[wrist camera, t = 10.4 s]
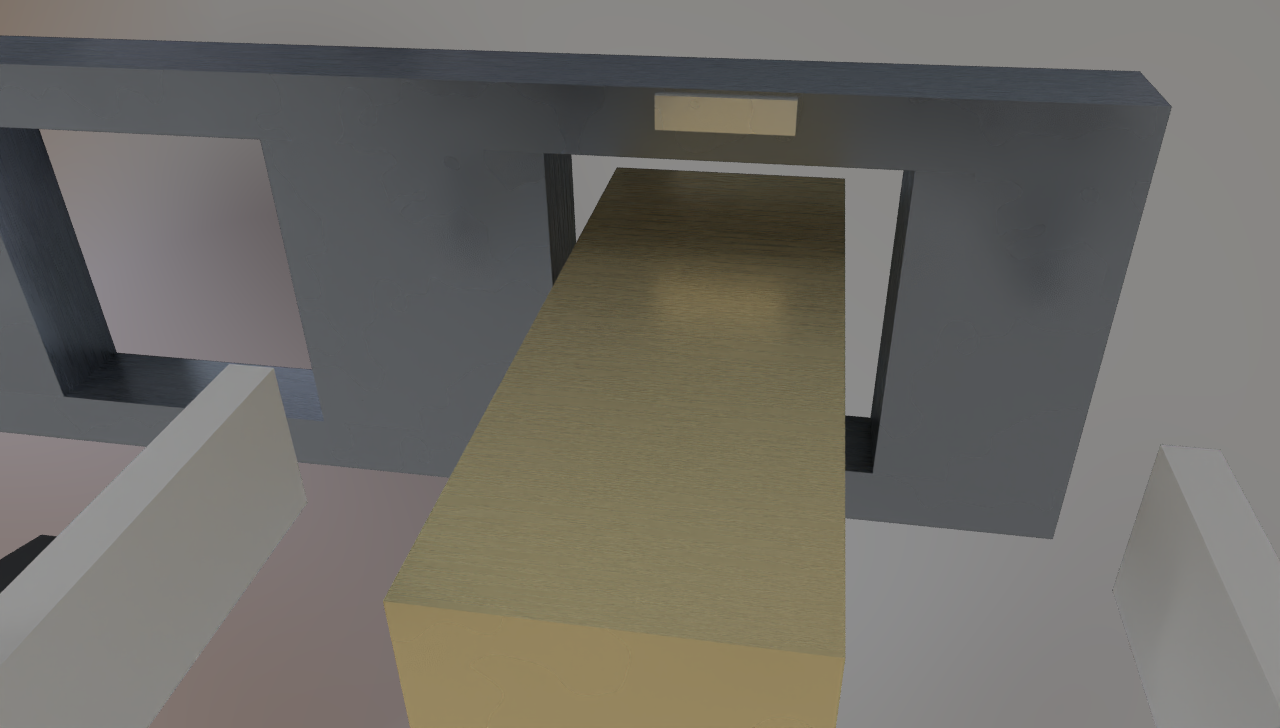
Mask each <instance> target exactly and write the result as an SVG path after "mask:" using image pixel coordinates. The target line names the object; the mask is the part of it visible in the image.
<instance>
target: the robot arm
mask: <svg viewBox="0 0 1280 728" xmlns="http://www.w3.org/2000/svg"><path fill="white" fill-rule="evenodd" d="M307 503H308V502H307V498H306V494H305V491H304V486H303V483H302V478H301V474H300V470H299V466H298V462H297V459H296V455H295V451H294V447H293V443H292V439H291V435H290V431H289V427H288V423H287V419H286V415H285V411H284V407H283V403H282V399H281V395H280V391H279V387H278V383H277V379H276V375H275V371H274V368H271V367H259V366H248V365H236V364H229V365H228V366H227V367H226V368H225V369H224V370H223V371H222V372H221V373H220V374H219V375H218V376H217V377H216V378H215V379H214V380H213V381H212V382H211V383H210V384H209V385H208V386H207V387H206V388H205V389H204V390H203V391H202V392H201V393H200V394H199V395H198V396H197V397H196V398H195V399H194V400H193V401H192V402H191V403H190V404H189V405H188V406H187V407H186V408H185V409H184V410H183V411H182V412H181V413H180V414H179V415H178V416H177V417H176V418H175V419H174V420H173V421H172V422H171V423H170V424H169V425H168V426H167V427H166V428H165V429H164V430H163V431H162V432H161V433H160V434H159V435H158V436H157V437H156V438H155V439H154V440H153V441H152V442H151V443H150V444H149V445H148V446H147V447H146V448H145V449H144V450H143V451H142V452H141V453H140V454H139V455H138V456H137V457H136V458H135V459H134V460H133V461H132V462H131V463H130V464H129V465H128V466H127V467H126V468H125V469H124V470H123V471H122V472H121V473H120V474H119V475H118V476H117V477H116V478H115V479H114V480H113V481H112V482H111V483H110V484H109V485H108V486H107V487H106V488H105V489H104V490H103V491H102V492H101V493H100V494H99V495H98V496H97V497H96V498H95V499H94V500H93V501H92V502H91V503H90V504H89V505H88V506H87V507H86V508H85V509H84V510H83V511H82V512H81V513H80V514H79V515H78V516H77V517H76V518H75V519H74V520H73V521H72V522H71V523H70V524H69V525H68V526H67V527H66V528H65V529H64V530H63V531H62V532H61V533H60V534H59V535H58V536H47V535H40V536H39V537H37V538H35V539H34V540H32V541H30V542H29V543H27V544H25V545H24V546H22V547H20V548H19V549H17V550H15V551H14V552H12V553H10V554H9V555H7V556H5V557H4V558H2V559H1V560H0V728H148V727H149V726H150V724H151V723H152V721H153V720H154V719H155V717H156V716H157V714H158V713H159V711H160V710H161V708H162V707H163V706H164V704H165V703H166V701H167V700H168V699H169V697H170V696H171V695H172V693H173V691H174V690H175V689H176V687H177V686H178V685H179V683H180V682H181V680H182V679H183V677H184V676H185V675H186V673H187V672H188V671H189V669H190V668H191V666H192V665H193V664H194V662H195V661H196V659H197V658H198V657H199V655H200V654H201V652H202V651H203V649H204V648H205V647H206V645H207V644H208V642H209V641H210V640H211V638H212V637H213V635H214V633H215V632H216V631H217V630H218V628H219V627H220V625H221V624H222V623H223V621H224V620H225V618H226V617H227V615H228V614H229V613H230V611H231V610H232V609H233V607H234V606H235V604H236V603H237V602H238V600H239V599H240V597H241V596H242V595H243V593H244V592H245V590H246V589H247V587H248V586H249V585H250V583H251V581H252V580H253V579H254V577H255V576H256V575H257V573H258V572H259V570H260V569H261V567H262V566H263V565H264V563H265V562H266V561H267V559H268V558H269V556H270V555H271V553H272V552H273V551H274V549H275V548H276V547H277V545H278V544H279V542H280V541H281V540H282V538H283V537H284V535H285V534H286V533H287V531H288V530H289V528H290V527H291V525H292V524H293V523H294V521H295V520H296V518H297V517H298V516H299V514H300V512H301V511H302V510H303V509H304V507H305V506H306V504H307ZM1112 591H1113V594H1114V597H1115V600H1116V603H1117V606H1118V610H1119V612H1120V616H1121V619H1122V622H1123V625H1124V628H1125V631H1126V635H1127V638H1128V641H1129V644H1130V647H1131V650H1132V653H1133V657H1134V660H1135V663H1136V666H1137V669H1138V673H1139V676H1140V679H1141V682H1142V685H1143V688H1144V691H1145V695H1146V698H1147V701H1148V704H1149V707H1150V710H1151V714H1152V717H1153V720H1154V723H1155V726H1156V728H1280V560H1279V558H1278V556H1277V554H1276V552H1275V550H1274V549H1273V547H1272V545H1271V543H1270V541H1269V539H1268V537H1267V535H1266V534H1265V532H1264V530H1263V528H1262V526H1261V524H1260V523H1259V520H1258V519H1257V517H1256V515H1255V513H1254V511H1253V509H1252V508H1251V506H1250V504H1249V502H1248V500H1247V498H1246V496H1245V494H1244V492H1243V491H1242V489H1241V487H1240V485H1239V483H1238V481H1237V480H1236V478H1235V476H1234V474H1233V472H1232V470H1231V468H1230V466H1229V465H1228V463H1227V461H1226V459H1225V457H1224V455H1223V453H1222V451H1221V450H1218V449H1207V448H1196V447H1184V446H1173V445H1172V446H1171V445H1160V448H1159V451H1158V454H1157V457H1156V460H1155V463H1154V466H1153V469H1152V472H1151V475H1150V478H1149V481H1148V484H1147V488H1146V490H1145V493H1144V496H1143V499H1142V503H1141V506H1140V509H1139V511H1138V514H1137V517H1136V520H1135V523H1134V526H1133V530H1132V533H1131V536H1130V539H1129V542H1128V545H1127V548H1126V551H1125V554H1124V557H1123V560H1122V563H1121V566H1120V569H1119V572H1118V575H1117V578H1116V581H1115V584H1114V587H1113V590H1112Z"/></svg>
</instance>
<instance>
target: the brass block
mask: <svg viewBox="0 0 1280 728" xmlns="http://www.w3.org/2000/svg"><path fill="white" fill-rule="evenodd" d="M383 603H384V607H385V612H386V617H387V622H388V626H389V631H390V636H391V641H392V645H393V650H394V654H395V659H396V664H397V669H398V673H399V678H400V683H401V688H402V692H403V697H404V701H405V706H406V711H407V716H408V720H409V725H410V728H836V721H837V714H838V707H839V700H840V693H841V686H842V678H843V671H844V664H845V179H840V178H838V179H837V178H820V177H799V176H779V175H759V174H739V173H718V172H697V171H678V170H658V169H637V168H616V170H615V172H614V174H613V176H612V178H611V179H610V181H609V183H608V185H607V187H606V189H605V191H604V192H603V194H602V196H601V198H600V200H599V202H598V203H597V205H596V207H595V209H594V211H593V213H592V215H591V216H590V218H589V220H588V222H587V224H586V226H585V228H584V229H583V231H582V233H581V235H580V237H579V239H578V241H577V242H576V244H575V246H574V248H573V250H572V252H571V254H570V255H569V257H568V259H567V261H566V263H565V265H564V267H563V268H562V270H561V272H560V274H559V276H558V278H557V280H556V281H555V283H554V285H553V287H552V289H551V291H550V292H549V294H548V296H547V298H546V300H545V302H544V304H543V305H542V307H541V309H540V311H539V313H538V315H537V317H536V318H535V320H534V322H533V324H532V326H531V328H530V330H529V331H528V333H527V335H526V337H525V339H524V341H523V343H522V344H521V346H520V348H519V350H518V352H517V354H516V356H515V357H514V359H513V361H512V363H511V365H510V367H509V369H508V370H507V372H506V374H505V376H504V378H503V380H502V382H501V383H500V385H499V387H498V389H497V391H496V393H495V394H494V396H493V398H492V400H491V402H490V404H489V406H488V407H487V409H486V411H485V413H484V415H483V417H482V419H481V420H480V422H479V424H478V426H477V428H476V430H475V432H474V433H473V435H472V437H471V439H470V441H469V443H468V445H467V446H466V448H465V450H464V452H463V454H462V456H461V458H460V459H459V461H458V463H457V465H456V467H455V469H454V471H453V472H452V474H451V476H450V478H449V480H448V482H447V484H446V485H445V487H444V489H443V491H442V493H441V495H440V496H439V499H438V500H437V502H436V504H435V506H434V508H433V509H432V511H431V513H430V515H429V517H428V519H427V521H426V522H425V524H424V526H423V528H422V530H421V532H420V534H419V535H418V537H417V539H416V541H415V543H414V545H413V547H412V548H411V550H410V552H409V554H408V556H407V558H406V560H405V561H404V563H403V565H402V567H401V569H400V571H399V573H398V574H397V576H396V578H395V580H394V582H393V584H392V586H391V587H390V589H389V591H388V593H387V595H386V597H385V599H384V600H383Z"/></svg>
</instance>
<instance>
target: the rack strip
mask: <svg viewBox="0 0 1280 728" xmlns="http://www.w3.org/2000/svg"><path fill="white" fill-rule="evenodd" d="M1170 111H1171V105H1170V104H1169V103H1168V102H1167V101H1166V100H1165V99H1164V98H1163V97H1162V95H1161V94H1160V93H1159V92H1158V91H1157V90H1156V89H1155V88H1154V87H1153V85H1152V84H1151V83H1150V82H1149V81H1148V80H1147V79H1146V78H1145V77H1144V76H1143V75H1142V73H1141V72H1140V71H1109V70H1077V69H1046V68H1012V67H982V66H981V67H980V66H951V65H919V64H887V63H884V64H883V63H854V62H824V61H791V60H760V59H759V60H758V59H729V58H697V57H665V56H664V57H662V56H633V55H631V56H630V55H601V54H570V53H538V52H506V51H475V50H443V49H442V50H441V49H410V48H409V49H408V48H380V47H379V48H378V47H348V46H315V45H283V44H252V43H221V42H220V43H219V42H188V41H157V40H123V39H94V38H60V37H59V38H58V37H30V36H0V432H7V433H17V434H28V435H37V436H48V437H57V438H66V439H76V440H86V441H96V442H106V443H116V444H126V445H135V446H145V447H147V446H148V445H149V444H150V443H151V442H152V441H153V440H154V439H155V438H156V437H157V436H158V435H159V434H160V433H161V432H162V431H163V430H164V429H165V428H166V427H167V426H168V425H169V424H170V423H171V422H172V421H173V420H174V419H175V418H176V417H177V416H178V415H179V414H180V413H181V412H182V411H183V410H184V409H185V408H186V407H187V406H188V405H189V404H190V403H191V402H192V401H193V400H194V399H195V398H196V397H197V396H198V395H199V394H200V393H201V392H202V391H203V390H204V389H205V388H206V387H207V386H208V385H209V384H210V383H211V382H212V381H213V380H214V379H215V378H216V377H217V376H218V375H219V374H220V373H221V372H222V371H223V370H224V369H225V368H226V367H227V366H228V365H229V364H236V365H248V366H259V367H271V368H274V371H275V375H276V379H277V383H278V387H279V391H280V395H281V399H282V403H283V407H284V411H285V415H286V419H287V423H288V427H289V431H290V435H291V439H292V443H293V447H294V451H295V455H296V459H297V462H301V463H311V464H322V465H331V466H341V467H351V468H360V469H370V470H380V471H390V472H400V473H409V474H419V475H430V476H438V477H448V478H450V476H451V474H452V472H453V471H454V469H455V467H456V465H457V463H458V461H459V459H460V458H461V456H462V454H463V452H464V450H465V448H466V446H467V445H468V443H469V441H470V439H471V437H472V435H473V433H474V432H475V430H476V428H477V426H478V424H479V422H480V420H481V419H482V417H483V415H484V413H485V411H486V409H487V407H488V406H489V404H490V402H491V400H492V398H493V396H494V394H495V393H496V391H497V389H498V387H499V385H500V383H501V382H502V380H503V378H504V376H505V374H506V372H507V370H508V369H509V367H510V365H511V363H512V361H513V359H514V357H515V356H516V354H517V352H518V350H519V348H520V346H521V344H522V343H523V341H524V339H525V337H526V335H527V333H528V331H529V330H530V328H531V326H532V324H533V322H534V320H535V318H536V317H537V315H538V313H539V311H540V309H541V307H542V305H543V304H544V302H545V300H546V298H547V296H548V294H549V292H550V291H551V289H552V287H553V285H554V283H555V281H556V280H557V278H558V276H559V274H560V272H561V270H562V268H563V267H564V265H565V263H566V261H567V259H568V257H569V255H570V254H571V252H572V250H573V248H574V246H575V244H576V233H575V215H574V197H573V178H572V159H571V154H575V155H597V156H617V157H637V158H659V159H680V160H700V161H723V162H742V163H763V164H785V165H805V166H827V167H847V168H867V169H889V170H904V172H903V179H902V187H901V194H900V202H899V209H898V217H897V224H896V232H895V239H894V247H893V254H892V262H891V269H890V276H889V284H888V292H887V299H886V306H885V315H884V321H883V329H882V336H881V344H880V351H879V359H878V366H877V374H876V381H875V389H874V396H873V404H872V411H871V418H868V417H856V416H845V518H850V519H860V520H869V521H880V522H889V523H899V524H910V525H918V526H929V527H939V528H948V529H958V530H967V531H977V532H987V533H997V534H1007V535H1016V536H1026V537H1036V538H1046V539H1053V536H1054V532H1055V529H1056V525H1057V522H1058V518H1059V514H1060V510H1061V507H1062V503H1063V500H1064V496H1065V492H1066V489H1067V485H1068V482H1069V478H1070V474H1071V471H1072V467H1073V463H1074V460H1075V456H1076V452H1077V449H1078V445H1079V442H1080V438H1081V434H1082V430H1083V427H1084V423H1085V420H1086V416H1087V412H1088V409H1089V405H1090V402H1091V398H1092V394H1093V391H1094V387H1095V383H1096V379H1097V376H1098V372H1099V369H1100V365H1101V362H1102V358H1103V354H1104V351H1105V347H1106V344H1107V340H1108V336H1109V333H1110V329H1111V325H1112V322H1113V318H1114V314H1115V311H1116V307H1117V304H1118V300H1119V296H1120V293H1121V289H1122V285H1123V282H1124V278H1125V274H1126V271H1127V267H1128V263H1129V260H1130V256H1131V252H1132V249H1133V245H1134V242H1135V238H1136V234H1137V231H1138V227H1139V224H1140V220H1141V216H1142V213H1143V209H1144V205H1145V202H1146V198H1147V195H1148V190H1149V187H1150V184H1151V180H1152V176H1153V173H1154V169H1155V165H1156V162H1157V158H1158V154H1159V151H1160V147H1161V144H1162V140H1163V136H1164V133H1165V129H1166V126H1167V122H1168V118H1169V115H1170ZM39 129H52V130H73V131H94V132H115V133H136V134H157V135H179V136H199V137H219V138H240V139H260V141H261V145H262V150H263V154H264V158H265V163H266V167H267V172H268V176H269V180H270V185H271V189H272V193H273V198H274V202H275V207H276V211H277V216H278V220H279V225H280V229H281V234H282V238H283V242H284V246H285V251H286V255H287V260H288V264H289V269H290V273H291V277H292V281H293V287H294V291H295V295H296V300H297V304H298V308H299V313H300V317H301V322H302V326H303V331H304V335H305V339H306V344H307V348H308V353H309V357H310V361H311V366H312V370H311V369H299V368H287V367H276V366H265V365H252V364H241V363H229V362H218V361H207V360H195V359H183V358H172V357H159V356H148V355H136V354H125V353H117V352H116V349H115V346H114V344H113V341H112V338H111V335H110V332H109V329H108V326H107V323H106V320H105V318H104V315H103V312H102V309H101V306H100V303H99V300H98V297H97V295H96V292H95V289H94V286H93V283H92V280H91V277H90V275H89V271H88V269H87V266H86V263H85V260H84V257H83V254H82V251H81V248H80V246H79V243H78V240H77V237H76V234H75V231H74V228H73V225H72V223H71V220H70V217H69V214H68V211H67V208H66V205H65V202H64V200H63V197H62V194H61V191H60V188H59V185H58V182H57V179H56V176H55V174H54V171H53V168H52V165H51V162H50V160H49V156H48V153H47V151H46V148H45V145H44V142H43V139H42V136H41V133H40V131H39Z"/></svg>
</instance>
